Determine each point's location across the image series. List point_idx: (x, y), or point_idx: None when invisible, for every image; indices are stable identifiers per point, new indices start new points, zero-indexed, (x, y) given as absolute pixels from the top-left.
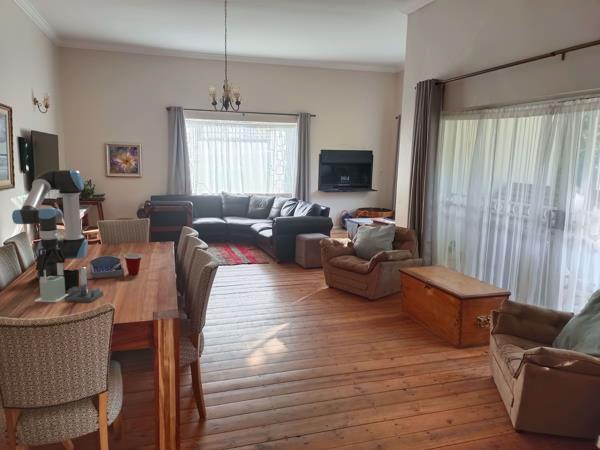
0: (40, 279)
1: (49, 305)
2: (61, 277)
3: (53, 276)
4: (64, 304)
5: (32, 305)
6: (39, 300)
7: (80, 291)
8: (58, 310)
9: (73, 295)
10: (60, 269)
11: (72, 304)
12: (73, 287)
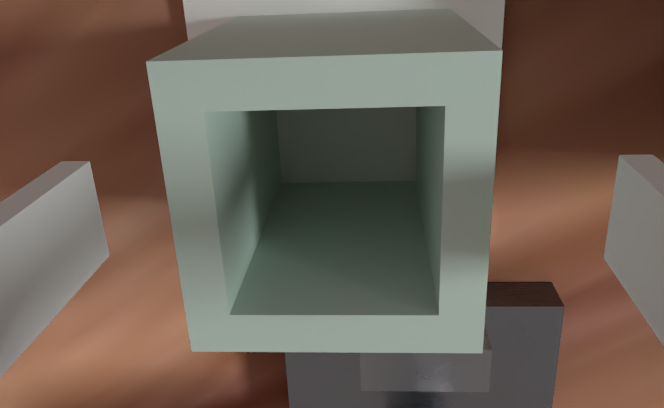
0: (25, 191)
1: (118, 226)
2: (423, 338)
3: (483, 151)
4: (186, 341)
5: (59, 45)
6: (192, 32)
7: (511, 356)
8: (31, 380)
9: (351, 364)
10: (660, 296)
11: (205, 403)
12: (450, 365)
